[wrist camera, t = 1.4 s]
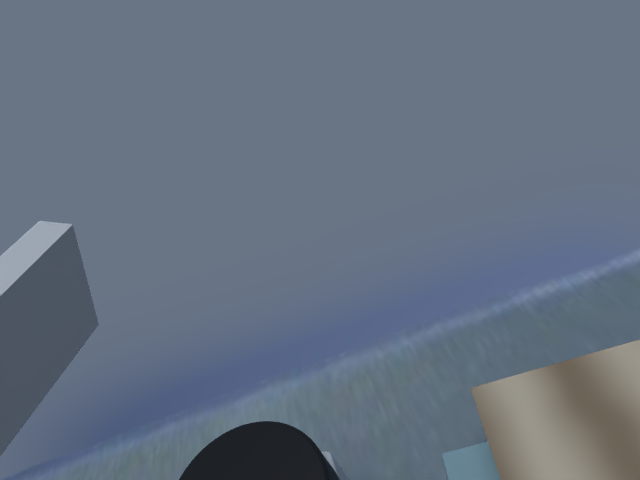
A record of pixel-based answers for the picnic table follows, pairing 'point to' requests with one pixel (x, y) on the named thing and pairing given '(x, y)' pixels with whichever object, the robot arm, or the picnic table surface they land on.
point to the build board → (471, 463)
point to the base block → (567, 418)
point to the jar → (263, 456)
